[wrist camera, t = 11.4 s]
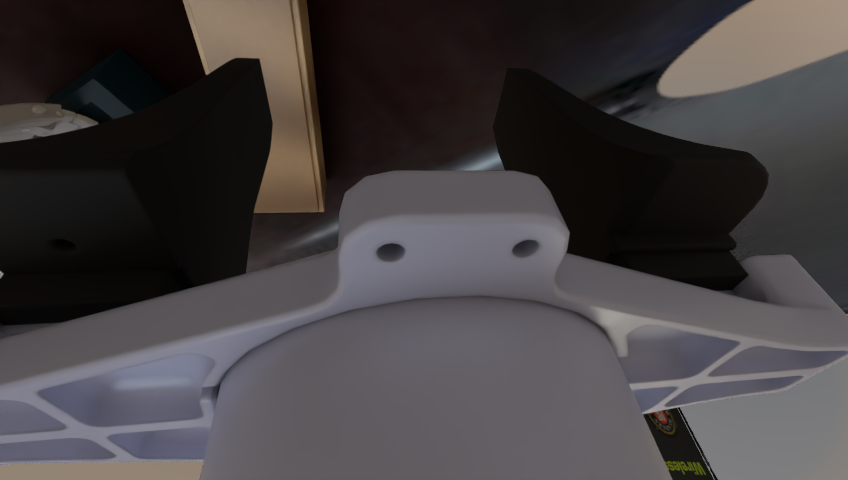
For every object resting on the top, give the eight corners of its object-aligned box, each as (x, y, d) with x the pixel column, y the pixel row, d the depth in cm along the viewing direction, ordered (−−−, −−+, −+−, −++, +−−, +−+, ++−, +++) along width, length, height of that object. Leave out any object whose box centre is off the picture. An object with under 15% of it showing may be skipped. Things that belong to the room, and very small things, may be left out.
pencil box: (326, 181, 27) (324, 214, 25) (256, 181, 27) (248, 216, 25) (298, -76, 17) (290, -56, 15) (183, -86, 16) (158, -66, 14)
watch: (155, 178, 26) (77, 334, 19) (7, 70, 20) (-187, 234, 13) (222, 140, 24) (167, 293, 17) (84, 12, 19) (-86, 160, 11)
